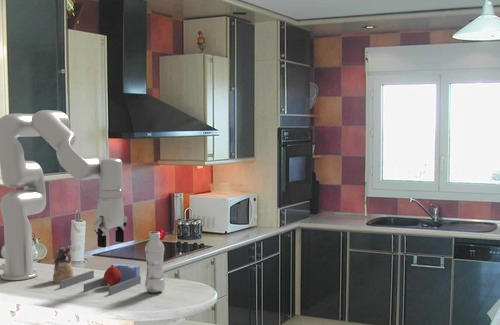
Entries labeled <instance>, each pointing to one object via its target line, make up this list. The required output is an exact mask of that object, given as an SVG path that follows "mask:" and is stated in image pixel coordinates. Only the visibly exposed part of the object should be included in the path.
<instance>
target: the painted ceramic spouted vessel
mask: <svg viewBox="0 0 500 325" xmlns="http://www.w3.org/2000/svg"><path fill="white" fill-rule="evenodd" d="M70 250H71V248H70V247H67V248H65V247H60V248H59V249H58V250H57V251H56V252H55V253H56V254H55V255H54V257H53V258H54V261H53V264H54V268H53V269H54V270H53V275H52V277H53V278H52V279H53V283H54V282H55V284H60V281H61V280H65V279H68V278H71V277H74V276H75V274H74V269H73V265H72V262H71V260H72V255H71V253H70Z"/></svg>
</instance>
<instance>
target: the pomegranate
mask: <svg viewBox="0 0 500 325" xmlns="http://www.w3.org/2000/svg"><path fill="white" fill-rule="evenodd" d="M114 264H115V263H112V264H111V265H110V266H109V267H108V268H107V269H106V271H105V272H104V274H103V277H104V280H105V282H106V283H107V284H106V285H108V286H109V287H111V286H113V285H116V284H119V283H121V282H120V280H121V273H120V271H119V270H118V269H117V268H116V267H115V266H114Z"/></svg>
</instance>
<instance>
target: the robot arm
mask: <svg viewBox="0 0 500 325" xmlns="http://www.w3.org/2000/svg"><path fill="white" fill-rule="evenodd" d="M70 125H71V122H70V118H69V117H68V115H67V114H66V113H65V112H63V111H61V110H49V109H47V110H46V109H43V110H39V111H37V112H35V113H23V112H22V113H16V112H15V113H8V114H4V115H2V116H1V117H0V175H1V180H2V183H3V185H4V186H5V187H7V188H14V189H15V188H23V189H22V190H16V191H10V192H9V193H6V194H4V195H3V197H2V198H1V201H0V212H1V217H2V221H3V234H4V237H3V238H4V261H5V262H3V263H2V264H1V265H0V270H3V273H2V274H0V279H2V280H4V281H23V280H28V279H33V278H35V277H37V276H38V271H37V270H35V269H34V264H33V263H34V261H33V259H34V258H33V257H34V256H33V231H32V230H33V228H32V224H31V221H30V220H29V218H28V216H33V215H36V214H41V213H42V212H44V210H45V209H46V207H47V206H46V205H47V191H46V184H45V177H44V170H43V169H42V167H41V165H40V164H39V163H38V162H36V161H34V160H26V159H25V151H24V148H23V146H22V143H21V142H20V141H19V140H18V138H19V137H21V138H22V137H24V138H27V137H28V138H29V137H36V138H37V137H42V138H43V139H44V140H45V141H46V142H47V143H48V144H49V146H51V147H52V148H53V149H54V150H55V152H56V157H57V161H58V163H59V165H60V166H61V167H62V168H63V169H64V170H65V171H66V172H67V173H68V174H69V175H70V176H71V177H73V178H74V179H76V180H79V181H86V180H95V179H99V199H98V200H97V201H98V202H97V207H96V215H95V216H96V219H95V221H94V222H93V229H94V232H95V235H96V236H97V247H98V248H104V249H105V248H106V247H107V235H106V234H107V231H108V230H111V229H112V230H113V229H116V230H115V234H114V235H115V239H114V240H115V242H117V243H124V242H125V230H126V226H127V221H128V219H129V218H128V216H127V215H125V209H124V208H125V207H124V200H123V160H121V159H120V158H114V157H113V158H112V157H110V158H107V157H101V156H88V157H86V156H85V157H82V156H81V155H79V153H77V152H76V151H75V150H74V149H73V145H74V144H75V142H76V138H77V137H76V134H75V133H74V132H73V131H72V130H71V129H70Z"/></svg>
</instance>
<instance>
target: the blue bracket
mask: <svg viewBox="0 0 500 325" xmlns="http://www.w3.org/2000/svg"><path fill="white" fill-rule="evenodd" d="M113 264H114V266H115V267H116V268H117V269H118V270H119V271H120V273H121V280H120V282H119V283H121V282H124V281H126V280H129V279H132V278H134V277H138V276H141V275H140V274H141V272H140V265H135V264H133V265H132V264H125V263H124V264H123V263H113Z"/></svg>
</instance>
